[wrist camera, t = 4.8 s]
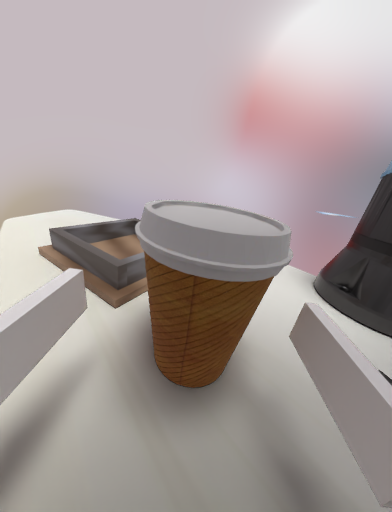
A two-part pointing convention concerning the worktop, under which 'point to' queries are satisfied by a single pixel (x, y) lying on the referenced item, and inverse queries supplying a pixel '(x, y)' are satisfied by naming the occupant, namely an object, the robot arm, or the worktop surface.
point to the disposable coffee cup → (205, 281)
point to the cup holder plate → (102, 258)
